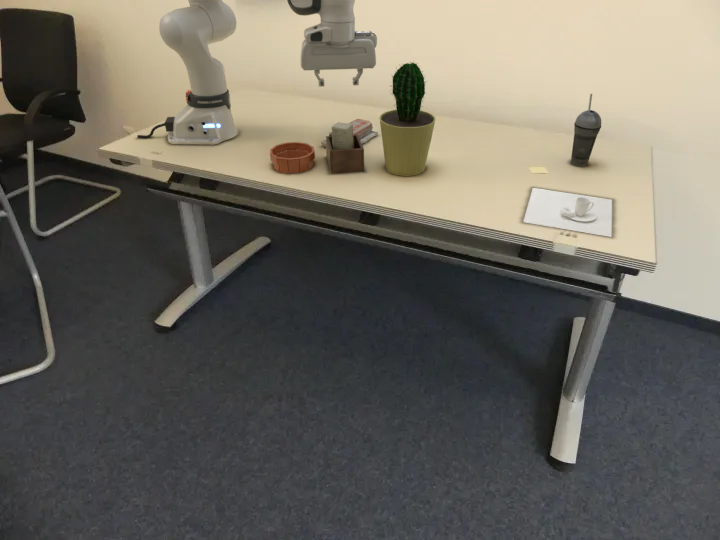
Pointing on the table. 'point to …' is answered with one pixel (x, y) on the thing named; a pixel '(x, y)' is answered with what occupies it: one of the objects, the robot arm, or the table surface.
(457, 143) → the table surface
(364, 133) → the packaged product
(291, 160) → the bowl
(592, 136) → the beverage cup
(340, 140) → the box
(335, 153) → the holder
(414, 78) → the potted cactus
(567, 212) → the teacup and saucer
